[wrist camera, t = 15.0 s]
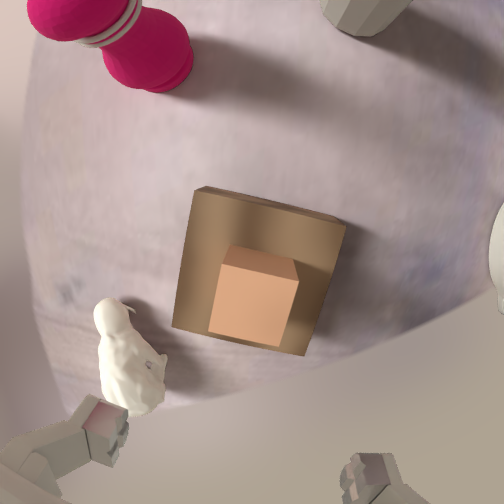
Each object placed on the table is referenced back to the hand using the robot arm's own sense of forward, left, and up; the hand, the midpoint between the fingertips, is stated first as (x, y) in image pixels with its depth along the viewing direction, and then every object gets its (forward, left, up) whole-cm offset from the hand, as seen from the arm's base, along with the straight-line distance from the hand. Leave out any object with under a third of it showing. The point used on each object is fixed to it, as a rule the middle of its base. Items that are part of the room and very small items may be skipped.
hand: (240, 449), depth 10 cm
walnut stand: (0, 0, -22) cm, 22 cm away
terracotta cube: (0, 0, -17) cm, 17 cm away
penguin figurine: (+11, +12, -22) cm, 28 cm away
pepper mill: (+13, -17, -22) cm, 31 cm away
